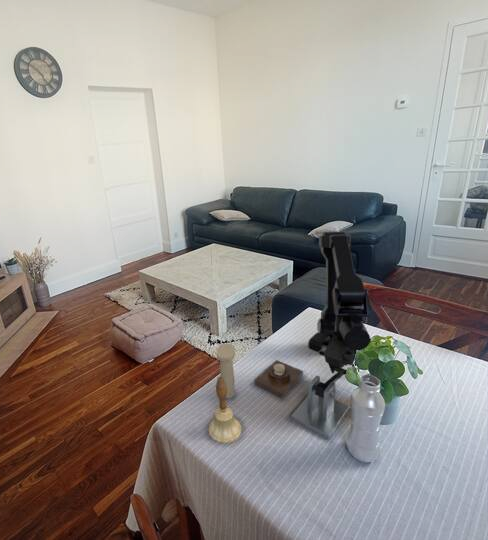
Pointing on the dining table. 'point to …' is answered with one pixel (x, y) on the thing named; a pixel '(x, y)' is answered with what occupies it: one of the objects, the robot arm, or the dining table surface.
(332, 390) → the bracket
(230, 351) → the handle
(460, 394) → the dining table surface
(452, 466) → the dining table surface
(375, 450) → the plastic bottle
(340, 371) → the lever
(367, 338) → the robot arm
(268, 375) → the button block
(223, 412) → the hand bell
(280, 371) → the button
